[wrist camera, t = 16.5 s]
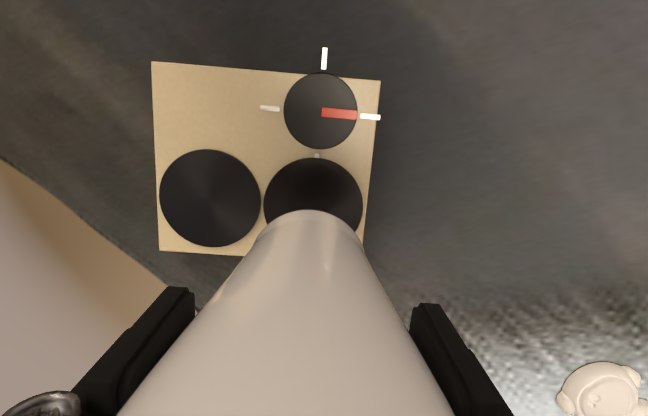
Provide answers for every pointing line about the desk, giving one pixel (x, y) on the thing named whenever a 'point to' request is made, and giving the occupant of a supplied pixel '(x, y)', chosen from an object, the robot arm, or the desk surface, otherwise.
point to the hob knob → (320, 110)
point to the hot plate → (246, 131)
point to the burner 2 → (314, 191)
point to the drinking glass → (294, 337)
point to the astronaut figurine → (602, 391)
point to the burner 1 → (209, 198)
